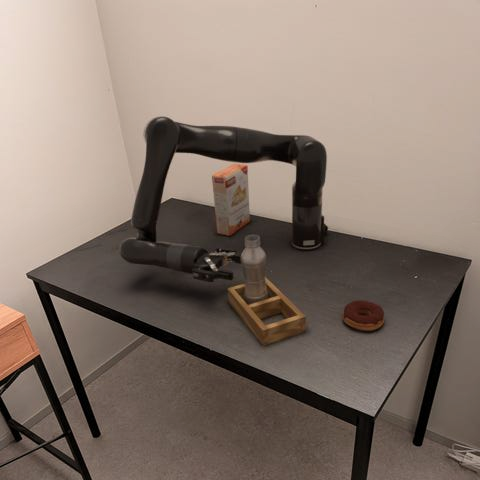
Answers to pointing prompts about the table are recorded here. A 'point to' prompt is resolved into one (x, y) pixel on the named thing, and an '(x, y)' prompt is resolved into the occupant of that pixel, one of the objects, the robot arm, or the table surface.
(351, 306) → the donut
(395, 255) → the table surface
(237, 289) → the caddy
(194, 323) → the table surface
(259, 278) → the grey metal bottle
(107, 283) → the table surface
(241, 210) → the cracker box
